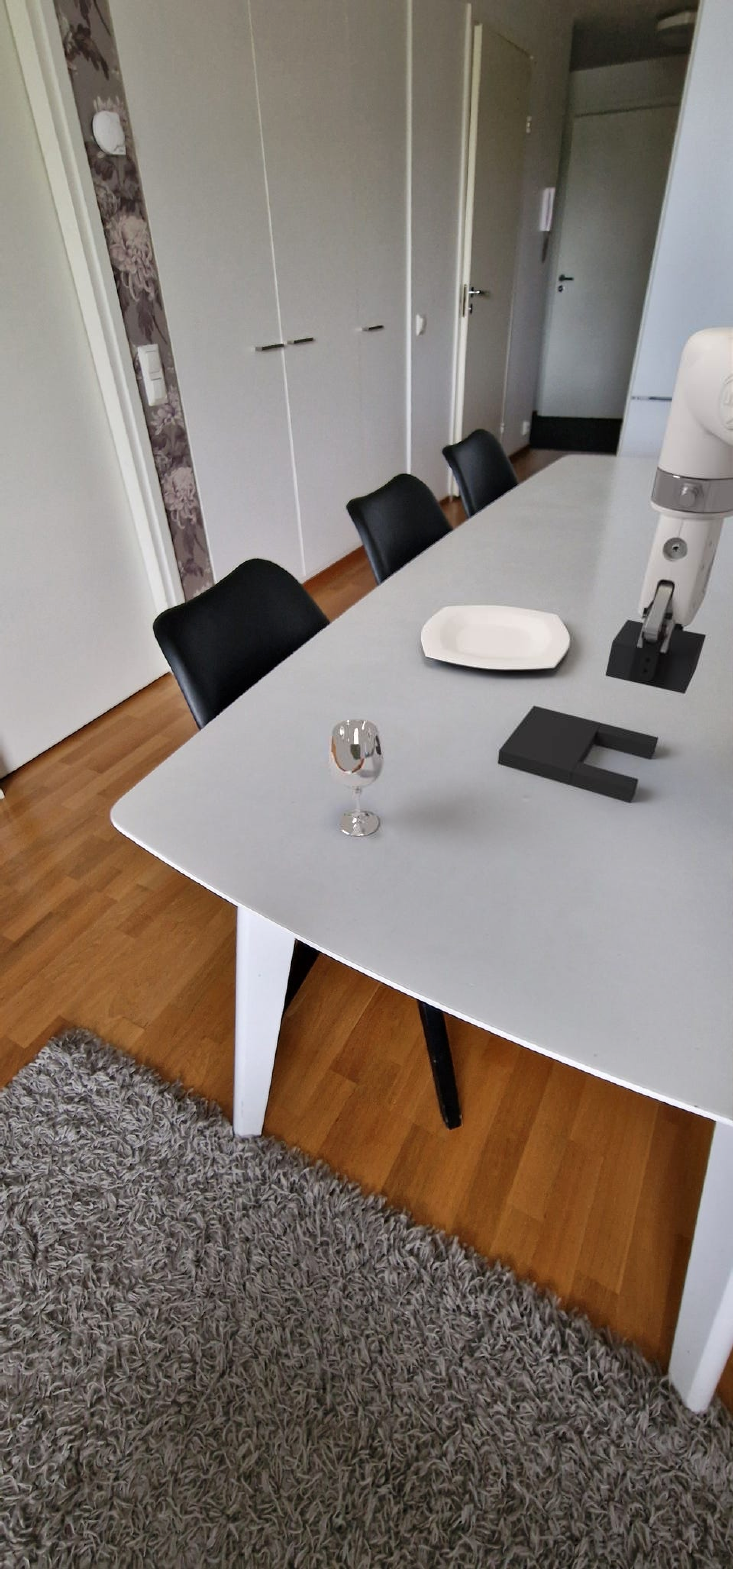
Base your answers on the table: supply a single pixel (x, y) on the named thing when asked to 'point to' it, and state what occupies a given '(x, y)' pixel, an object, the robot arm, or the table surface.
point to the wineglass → (356, 769)
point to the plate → (495, 637)
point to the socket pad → (573, 751)
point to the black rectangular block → (680, 660)
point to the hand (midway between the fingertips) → (652, 667)
